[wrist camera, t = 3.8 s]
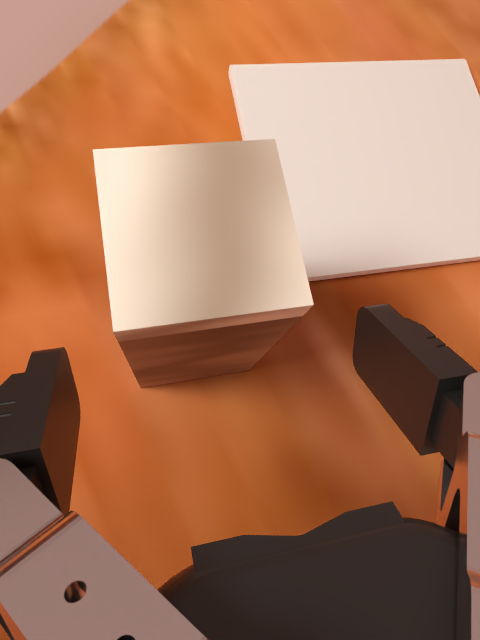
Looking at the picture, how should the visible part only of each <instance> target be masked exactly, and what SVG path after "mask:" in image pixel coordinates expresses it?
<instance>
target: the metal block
mask: <svg viewBox="0 0 480 640" xmlns="http://www.w3.org/2000/svg"><path fill="white" fill-rule="evenodd" d="M93 155H94V164H95V173H96V182H97V191H98V200H99V209H100V218H101V226H102V235H103V244H104V253H105V262H106V271H107V280H108V289H109V297H110V306H111V315H112V324H113V332H114V334H115V336H116V338H117V340H118V342H119V344H120V346H121V348H122V350H123V353H124V355H125V357H126V359H127V361H128V363H129V365H130V367H131V369H132V371H133V373H134V375H135V377H136V379H137V381H138V383H139V385H140V387H141V388H144V387H150V386H156V385H162V384H169V383H175V382H181V381H187V380H194V379H200V378H206V377H213V376H219V375H225V374H231V373H238V372H244V371H249V370H250V369H251V368H252V367H253V366H254V365H255V364H256V363H257V362H258V361H259V360H260V359H261V358H262V357H263V356H264V355H265V354H266V353H267V352H268V351H269V350H270V349H271V348H272V347H273V346H274V345H275V344H276V343H277V342H278V341H279V340H280V339H281V338H282V337H283V336H284V335H285V334H286V333H287V332H288V331H289V330H290V329H291V328H292V327H293V325H294V324H295V323H296V322H297V321H298V320H299V319H300V318H301V317H302V316H303V315H304V314H305V313H306V312H307V311H308V310H309V309H310V308H311V307H312V306H313V305H314V304H313V299H312V295H311V291H310V287H309V282H308V278H307V274H306V269H305V265H304V261H303V257H302V252H301V248H300V244H299V239H298V235H297V231H296V227H295V222H294V218H293V214H292V209H291V205H290V201H289V196H288V192H287V188H286V184H285V179H284V175H283V171H282V166H281V162H280V158H279V154H278V149H277V145H276V141H275V139H264V140H247V141H230V142H213V143H196V144H179V145H162V146H145V147H128V148H111V149H94V150H93Z"/></svg>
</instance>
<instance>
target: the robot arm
mask: <svg viewBox="0 0 480 640" xmlns="http://www.w3.org/2000/svg"><path fill="white" fill-rule="evenodd" d="M353 362H354V366H355V369H356V372H357V373H358V375H359V376H360V378H361V379H362V380H363V381H364V383H365V384H366V385H367V387H368V388H369V389H370V390H371V392H372V393H373V394H374V396H375V397H376V398H377V400H378V401H379V402H380V403H381V405H382V406H383V407H384V409H385V410H386V411H387V413H388V414H389V415H390V416H391V418H392V419H393V420H394V422H395V423H396V424H397V425H398V427H399V428H400V429H401V431H402V432H403V433H404V435H405V436H406V437H407V438H408V440H409V441H410V442H411V444H412V445H413V446H414V448H415V449H416V450H417V451H418V453H419V454H420V455H426V454H431V453H436V452H440V453H441V454H442V456H443V459H442V462H441V466H440V477H439V490H438V502H437V514H436V524H435V523H432V522H428V521H424V520H420V519H413V518H405V517H402V516H401V515H400V513H399V511H398V510H397V508H396V507H395V505H394V503H393V502H388V503H383V504H379V505H375V506H370V507H366V508H361V509H357V510H352V511H348V512H345V513H343V514H341V515H339V516H338V517H336V518H334V519H332V520H330V521H328V522H326V523H324V524H323V525H321V526H319V527H317V528H315V529H313V530H311V531H309V532H308V533H306V534H303V535H300V536H269V535H242V536H237V537H233V538H229V539H224V540H220V541H215V542H211V543H207V544H202V545H198V546H193V547H191V550H192V557H193V565H191V566H189V567H188V568H186V569H184V570H182V571H181V572H179V573H178V574H176V575H175V576H174V577H172V578H171V579H169V580H168V581H167V582H166V583H165V584H164V585H162V586H161V587H160V588H159V589H158V590H156V589H155V588H154V587H153V586H152V585H151V584H150V583H149V582H148V581H147V580H146V579H145V578H144V577H143V576H142V575H141V574H140V573H139V572H138V571H137V570H136V569H135V568H134V567H133V566H132V565H131V564H130V563H129V562H128V561H126V560H125V559H124V558H123V557H122V556H121V555H120V554H119V553H118V552H117V551H116V550H115V549H114V548H113V547H112V546H111V545H110V544H109V543H108V542H107V541H106V540H105V539H104V538H103V537H102V536H101V535H100V534H99V533H98V532H97V531H96V530H95V529H94V528H93V527H91V526H90V525H89V524H88V523H87V522H86V521H85V520H84V519H83V518H82V517H81V516H80V515H79V514H77V513H76V512H74V511H70V512H69V508H70V500H71V492H72V483H73V475H74V467H75V459H76V450H77V442H78V434H79V426H80V403H79V397H78V393H77V389H76V385H75V381H74V378H73V374H72V370H71V366H70V362H69V358H68V355H67V352H66V350H65V348H64V347H62V348H55V349H48V350H40V351H33V352H32V353H31V356H30V359H29V362H28V365H27V368H26V371H25V373H18V374H12V375H11V376H10V377H9V378H8V379H7V380H6V381H5V382H4V383H3V384H2V385H1V386H0V627H1V628H2V630H3V631H4V633H5V634H6V636H7V637H8V639H9V640H480V372H477V371H476V370H475V369H474V368H473V367H472V366H470V365H469V364H468V363H467V362H466V361H464V360H463V359H462V358H461V357H460V356H459V355H457V354H456V353H455V352H454V351H453V350H452V349H450V348H449V347H448V346H447V347H446V346H445V343H443V342H442V341H441V340H440V339H439V338H436V336H435V335H434V334H433V333H432V332H430V331H429V330H428V329H427V328H426V327H425V326H423V325H421V324H419V323H417V322H414V321H412V320H410V319H408V318H404V317H403V316H402V315H400V314H399V313H398V312H397V311H396V310H395V309H394V308H392V307H391V306H390V305H389V304H381V305H374V306H366V307H361V308H360V309H359V311H358V314H357V322H356V330H355V339H354V347H353Z"/></svg>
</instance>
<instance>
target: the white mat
mask: <svg viewBox="0 0 480 640" xmlns="http://www.w3.org/2000/svg"><path fill="white" fill-rule="evenodd" d="M228 74H229V78H230V83H231V88H232V93H233V97H234V102H235V107H236V112H237V116H238V121H239V126H240V130H241V135H242V140H243V141H247V140H264V139H275V141H276V145H277V149H278V154H279V158H280V162H281V166H282V171H283V175H284V179H285V184H286V188H287V192H288V196H289V201H290V205H291V209H292V214H293V218H294V222H295V227H296V231H297V235H298V239H299V244H300V248H301V252H302V257H303V261H304V265H305V269H306V274H307V278H308V281H316V280H324V279H332V278H340V277H348V276H356V275H364V274H372V273H380V272H389V271H397V270H405V269H413V268H421V267H429V266H437V265H445V264H453V263H461V262H469V261H477V260H480V96H479V94H478V91H477V88H476V86H475V83H474V81H473V78H472V75H471V73H470V70H469V67H468V65H467V62H466V59H444V60H405V61H366V62H327V63H288V64H249V65H230V67H229V73H228Z"/></svg>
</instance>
